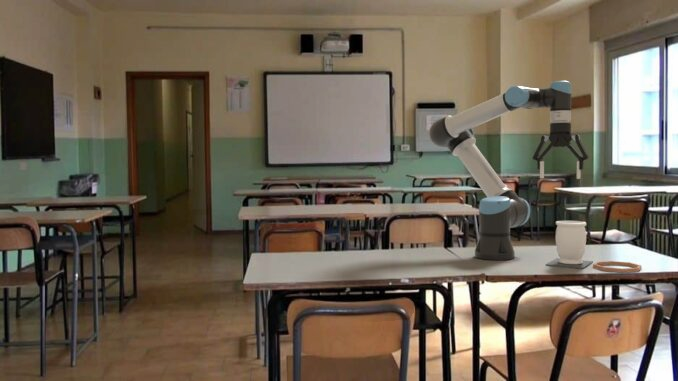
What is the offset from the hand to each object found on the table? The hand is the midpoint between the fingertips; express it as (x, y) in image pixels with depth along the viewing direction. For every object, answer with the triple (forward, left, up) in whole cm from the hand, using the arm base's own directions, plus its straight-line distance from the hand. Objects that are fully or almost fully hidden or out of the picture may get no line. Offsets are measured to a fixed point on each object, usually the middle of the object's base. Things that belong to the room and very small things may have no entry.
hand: (559, 178), depth 236 cm
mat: (+6, -11, -31) cm, 33 cm away
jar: (+7, -11, -30) cm, 33 cm away
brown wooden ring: (+22, -11, -31) cm, 40 cm away
